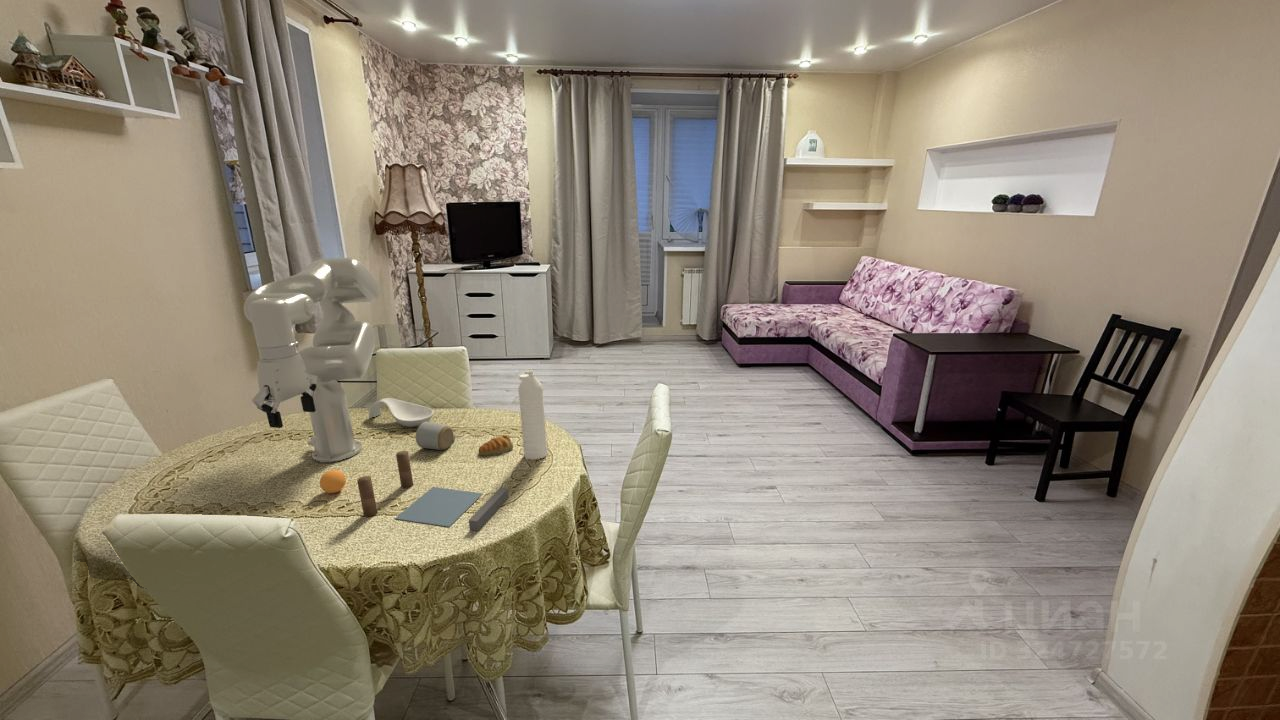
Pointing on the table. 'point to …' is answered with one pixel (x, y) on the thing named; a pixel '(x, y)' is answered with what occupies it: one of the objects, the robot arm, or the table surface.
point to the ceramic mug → (434, 436)
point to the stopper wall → (488, 509)
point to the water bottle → (532, 416)
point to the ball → (332, 481)
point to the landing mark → (439, 506)
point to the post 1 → (367, 496)
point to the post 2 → (404, 469)
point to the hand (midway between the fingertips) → (293, 419)
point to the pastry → (496, 446)
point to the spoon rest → (403, 412)
